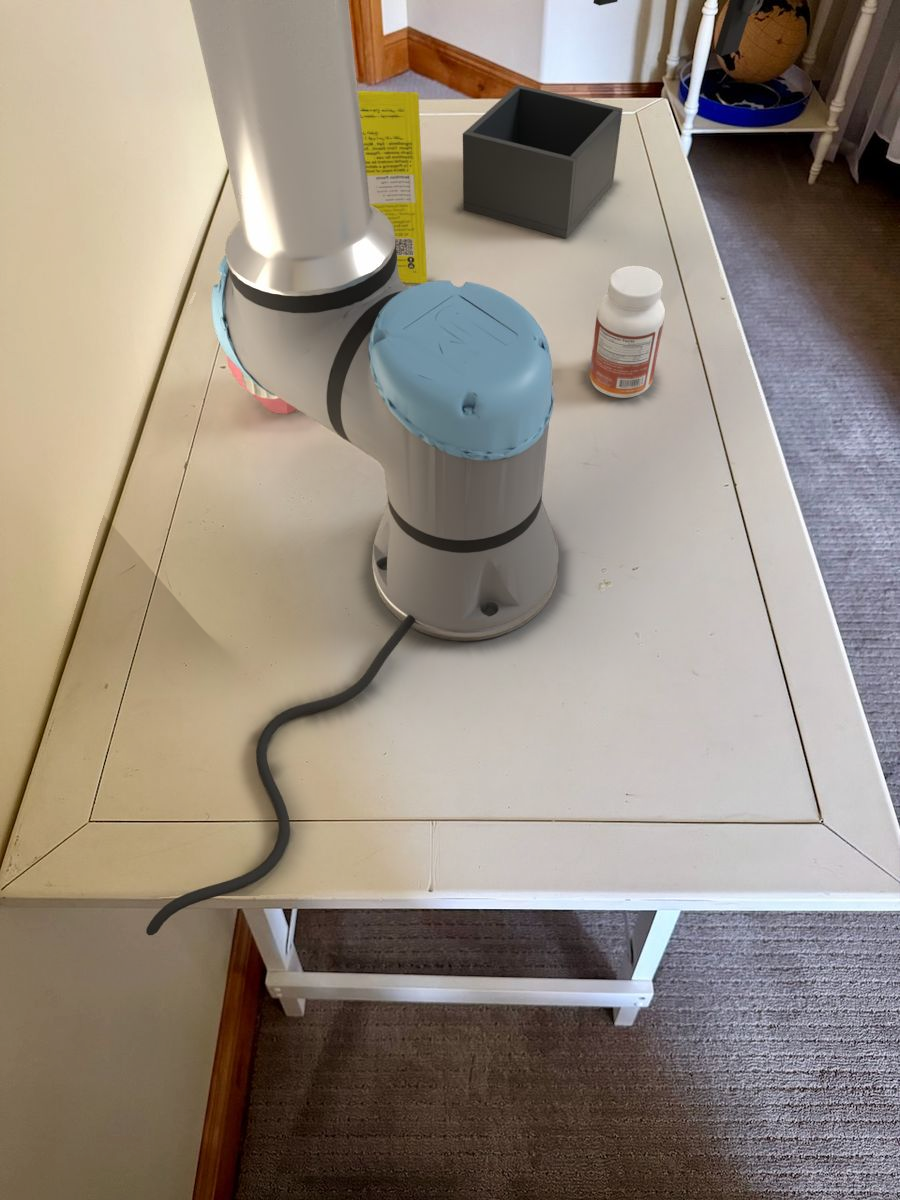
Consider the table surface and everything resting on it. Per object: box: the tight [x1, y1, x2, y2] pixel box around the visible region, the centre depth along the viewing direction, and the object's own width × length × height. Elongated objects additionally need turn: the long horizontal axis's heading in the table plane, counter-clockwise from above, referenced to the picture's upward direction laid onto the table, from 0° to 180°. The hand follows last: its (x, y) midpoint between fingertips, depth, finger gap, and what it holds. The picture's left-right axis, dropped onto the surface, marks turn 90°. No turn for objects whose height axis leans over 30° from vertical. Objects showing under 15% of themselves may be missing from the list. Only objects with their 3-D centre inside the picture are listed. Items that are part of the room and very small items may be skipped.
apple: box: [226, 355, 297, 415], centre depth 83 cm, size 10×9×10 cm
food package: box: [358, 90, 428, 285], centre depth 91 cm, size 15×1×20 cm, turn 84°
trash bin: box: [462, 84, 624, 239], centre depth 106 cm, size 14×14×9 cm
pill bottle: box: [589, 265, 666, 399], centre depth 84 cm, size 6×6×11 cm
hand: (663, 27), depth 81 cm, fingers open, 13 cm apart
